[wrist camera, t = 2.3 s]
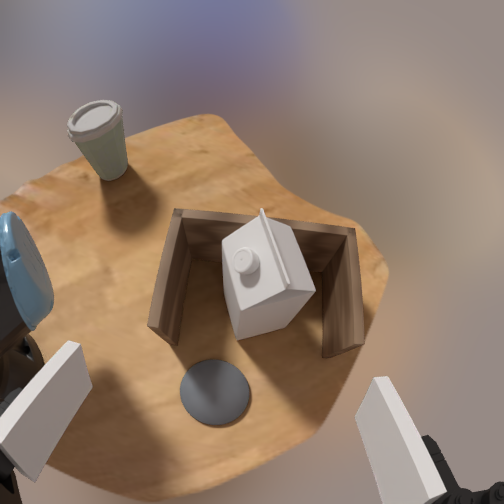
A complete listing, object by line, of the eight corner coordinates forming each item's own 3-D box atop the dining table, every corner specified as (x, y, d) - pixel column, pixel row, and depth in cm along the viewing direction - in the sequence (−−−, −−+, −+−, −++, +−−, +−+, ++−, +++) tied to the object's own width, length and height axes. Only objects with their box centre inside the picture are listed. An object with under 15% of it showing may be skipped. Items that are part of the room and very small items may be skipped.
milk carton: (270, 282, 41) (299, 201, 24) (285, 327, 38) (330, 272, 21) (223, 293, 40) (220, 215, 23) (236, 341, 37) (242, 295, 20)
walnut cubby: (169, 344, 35) (147, 325, 26) (185, 251, 42) (174, 208, 33) (330, 357, 36) (364, 344, 26) (328, 266, 43) (355, 228, 33)
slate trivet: (177, 419, 31) (176, 419, 30) (184, 355, 35) (184, 355, 34) (246, 427, 31) (246, 428, 30) (251, 363, 35) (251, 363, 35)
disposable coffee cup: (142, 151, 52) (128, 92, 39) (130, 190, 47) (107, 127, 34) (99, 155, 52) (79, 100, 38) (83, 192, 47) (54, 136, 33)
